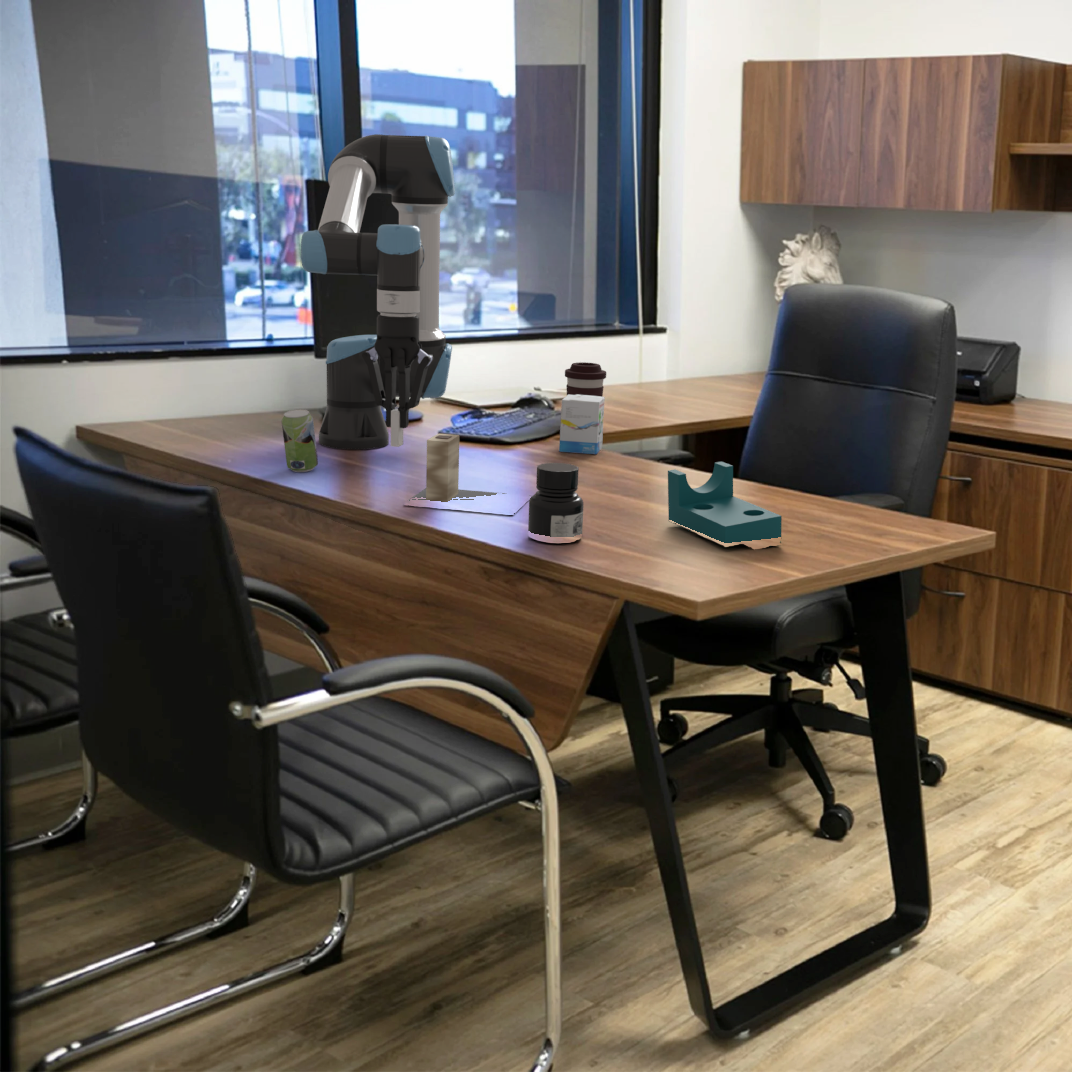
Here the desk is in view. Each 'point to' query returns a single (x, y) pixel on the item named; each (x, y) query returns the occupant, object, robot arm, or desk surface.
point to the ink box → (581, 424)
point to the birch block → (442, 467)
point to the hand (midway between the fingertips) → (397, 445)
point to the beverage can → (299, 440)
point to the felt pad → (460, 494)
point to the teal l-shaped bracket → (719, 508)
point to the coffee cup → (585, 379)
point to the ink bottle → (556, 502)
